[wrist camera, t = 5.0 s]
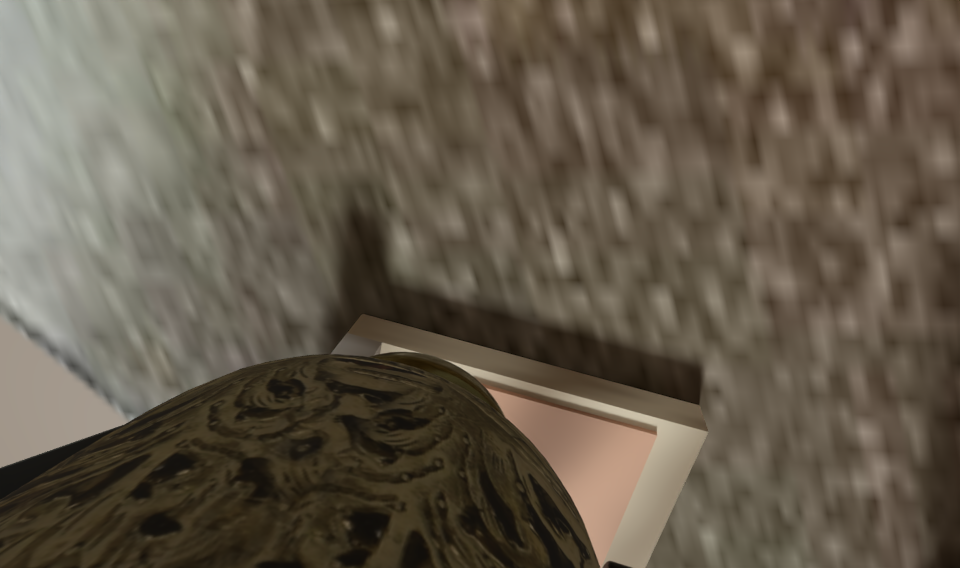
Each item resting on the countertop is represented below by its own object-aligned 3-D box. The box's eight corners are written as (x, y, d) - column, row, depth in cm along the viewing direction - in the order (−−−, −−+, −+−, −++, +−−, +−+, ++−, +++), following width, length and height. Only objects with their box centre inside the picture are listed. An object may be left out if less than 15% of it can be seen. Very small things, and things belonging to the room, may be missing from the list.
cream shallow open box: (699, 405, 20) (726, 486, 17) (610, 604, 24) (616, 704, 21) (362, 313, 21) (315, 371, 17) (329, 521, 25) (287, 605, 21)
